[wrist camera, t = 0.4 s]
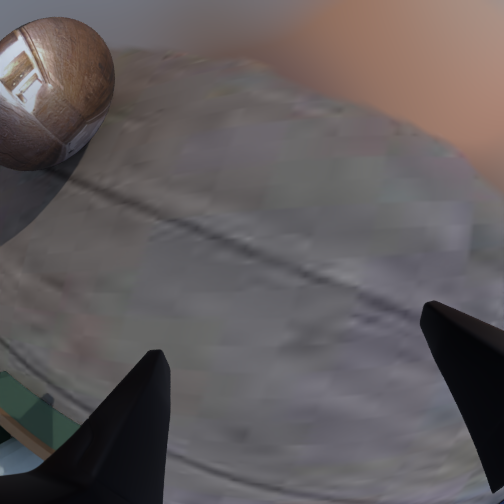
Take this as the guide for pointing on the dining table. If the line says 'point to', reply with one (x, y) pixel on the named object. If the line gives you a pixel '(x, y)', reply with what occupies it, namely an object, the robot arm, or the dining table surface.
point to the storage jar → (17, 458)
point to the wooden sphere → (51, 91)
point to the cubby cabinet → (31, 419)
